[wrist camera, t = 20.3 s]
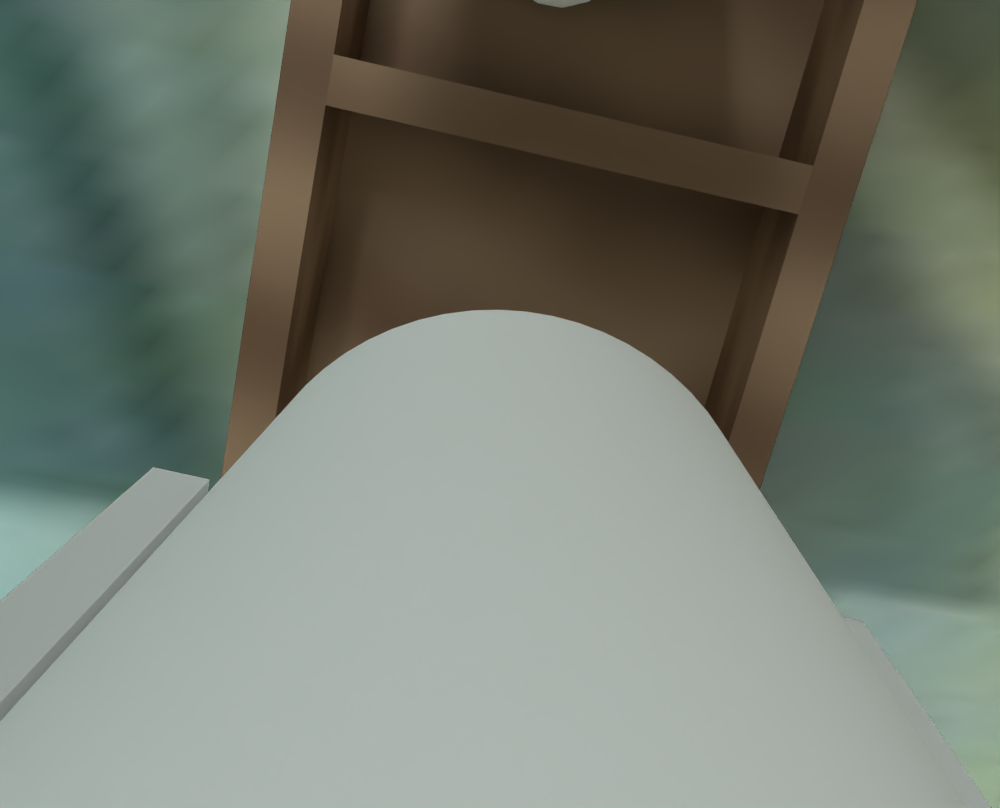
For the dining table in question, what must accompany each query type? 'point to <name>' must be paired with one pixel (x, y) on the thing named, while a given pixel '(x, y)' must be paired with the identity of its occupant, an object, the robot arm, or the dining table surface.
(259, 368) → the tray
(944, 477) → the dining table surface
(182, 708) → the cup
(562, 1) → the cup
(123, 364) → the dining table surface
